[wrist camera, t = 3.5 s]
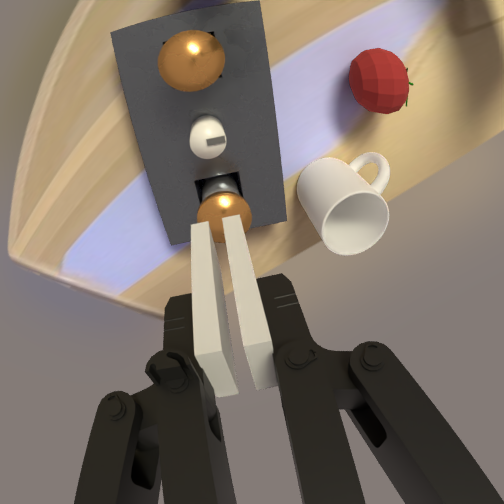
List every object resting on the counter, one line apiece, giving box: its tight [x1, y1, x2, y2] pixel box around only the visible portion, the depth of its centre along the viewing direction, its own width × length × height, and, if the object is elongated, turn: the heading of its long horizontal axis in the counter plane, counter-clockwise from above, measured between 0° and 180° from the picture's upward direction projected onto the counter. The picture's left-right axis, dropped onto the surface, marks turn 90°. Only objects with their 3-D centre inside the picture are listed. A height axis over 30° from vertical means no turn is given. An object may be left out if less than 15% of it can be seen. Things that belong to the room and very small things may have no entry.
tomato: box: [349, 48, 413, 114], centre depth 29 cm, size 8×8×8 cm
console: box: [110, 0, 287, 245], centre depth 31 cm, size 25×14×5 cm, turn 8°
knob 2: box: [197, 174, 252, 243], centre depth 32 cm, size 5×5×7 cm
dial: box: [190, 115, 226, 159], centre depth 28 cm, size 3×3×4 cm
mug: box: [297, 152, 390, 256], centre depth 36 cm, size 12×8×10 cm
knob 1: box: [158, 30, 225, 92], centre depth 23 cm, size 5×5×7 cm
